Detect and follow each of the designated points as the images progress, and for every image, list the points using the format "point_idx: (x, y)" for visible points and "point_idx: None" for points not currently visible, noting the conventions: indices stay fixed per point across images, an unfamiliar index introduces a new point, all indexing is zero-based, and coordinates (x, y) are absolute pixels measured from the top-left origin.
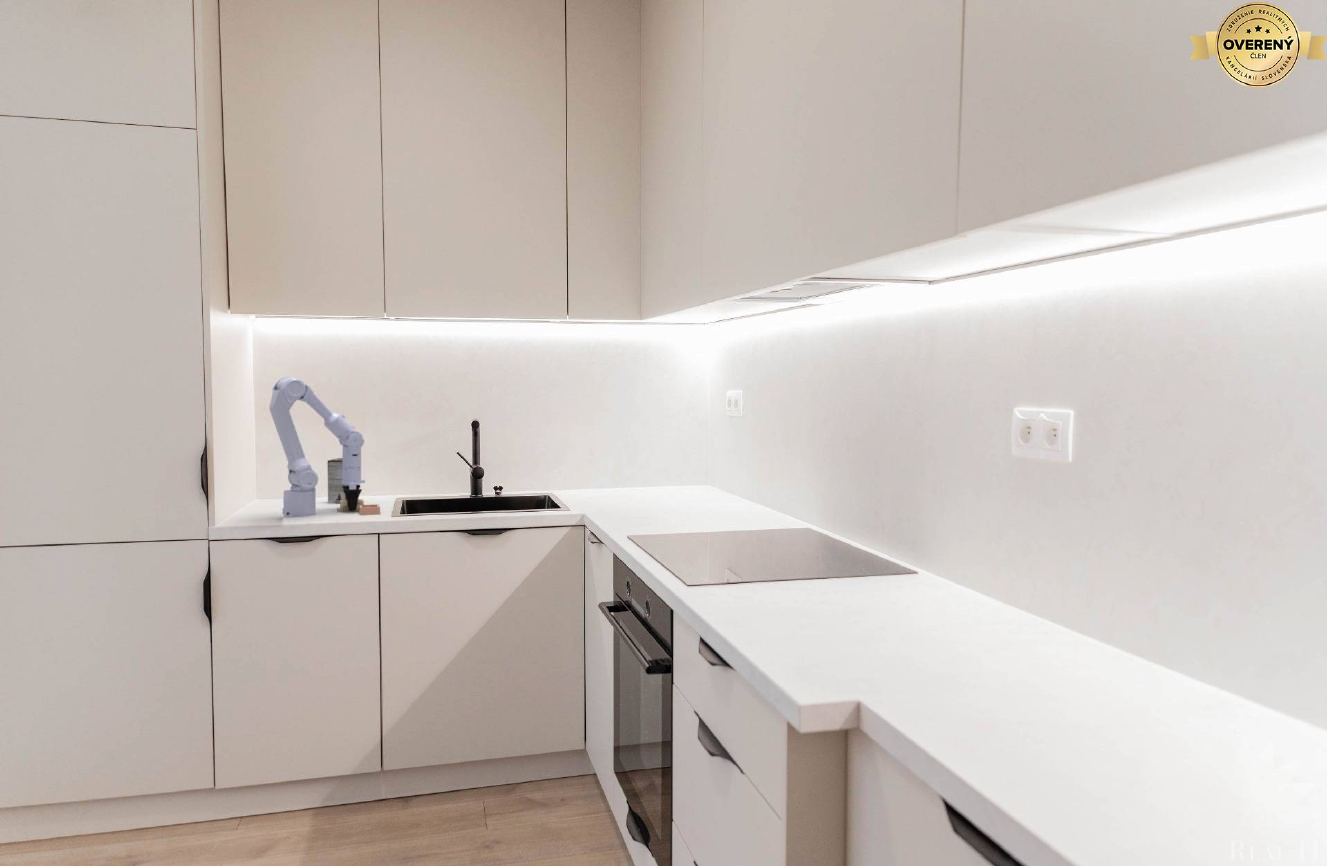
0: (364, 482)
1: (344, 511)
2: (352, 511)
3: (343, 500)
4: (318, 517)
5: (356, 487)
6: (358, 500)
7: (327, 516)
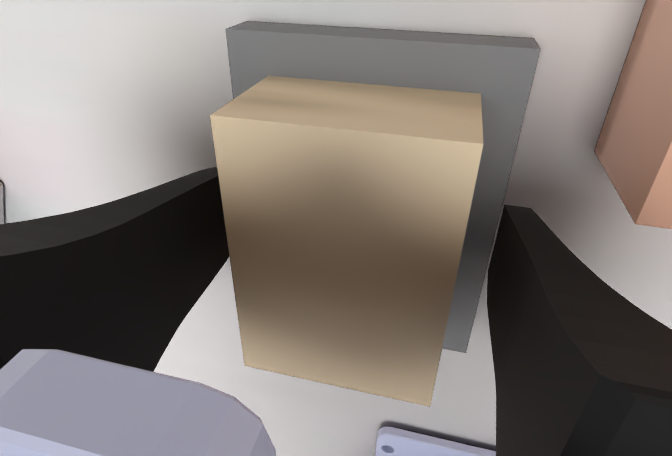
0: (241, 413)
1: (467, 298)
2: (494, 228)
3: (299, 351)
4: (493, 437)
5: (35, 314)
6: (350, 202)
7: (472, 386)
